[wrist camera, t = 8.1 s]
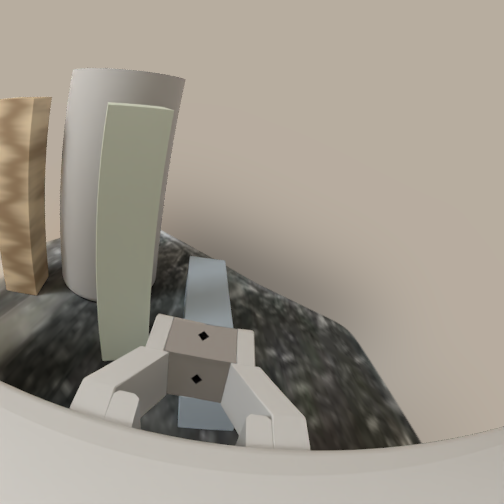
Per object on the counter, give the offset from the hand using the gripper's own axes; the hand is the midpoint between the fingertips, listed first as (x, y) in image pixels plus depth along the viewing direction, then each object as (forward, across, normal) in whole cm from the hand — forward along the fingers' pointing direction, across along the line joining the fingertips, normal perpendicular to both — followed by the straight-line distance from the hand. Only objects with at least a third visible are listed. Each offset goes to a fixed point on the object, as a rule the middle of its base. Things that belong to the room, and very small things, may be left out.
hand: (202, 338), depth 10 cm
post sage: (+15, +8, +16) cm, 23 cm away
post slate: (+7, -1, +14) cm, 16 cm away
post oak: (+21, +23, +16) cm, 35 cm away
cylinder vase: (+26, +13, +16) cm, 34 cm away
